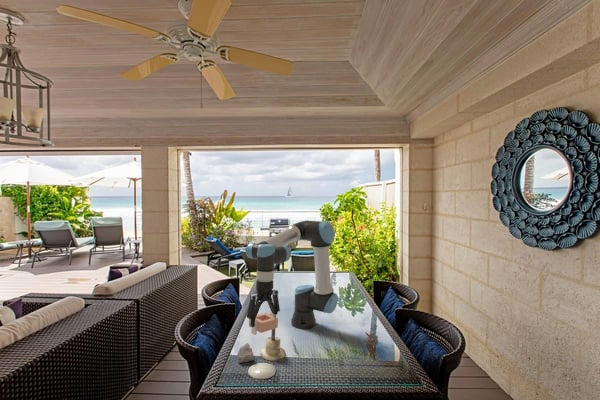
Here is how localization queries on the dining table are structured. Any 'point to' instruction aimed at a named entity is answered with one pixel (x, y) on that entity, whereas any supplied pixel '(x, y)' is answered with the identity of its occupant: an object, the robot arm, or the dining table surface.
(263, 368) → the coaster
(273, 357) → the stand
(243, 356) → the stone
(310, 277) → the dining table surface
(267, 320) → the link
